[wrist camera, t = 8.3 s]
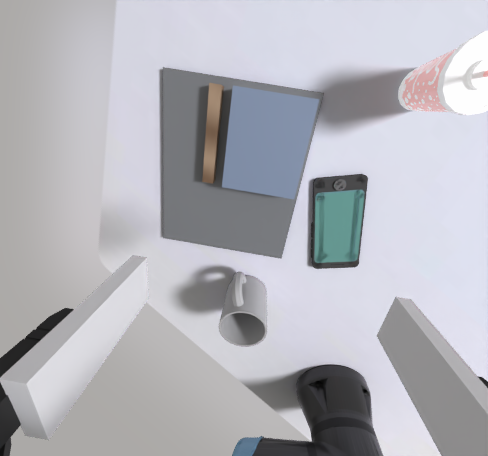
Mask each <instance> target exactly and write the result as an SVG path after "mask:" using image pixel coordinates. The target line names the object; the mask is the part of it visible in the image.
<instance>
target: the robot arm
mask: <svg viewBox="0 0 488 456" xmlns="http://www.w3.org/2000/svg"><path fill="white" fill-rule="evenodd" d="M148 299H149V290H148V271H147V257H140V256H134V255H133V256H132V257H131V258H129V259H128V260H127V261H126V262H125V263H124V264H123V265H122V266H121V267H120V268H119V269H117V270H116V271H115V272H114V273H113V274H112V275H111V276H110V277H109V278H108V279H107V280H106V281H105V282H103V283H102V284H101V285H100V286H99V287H98V288H97V289H96V290H95V291H94V292H93V293H92V294H90V295H89V296H88V297H87V298H86V299H85V300H84V301H83V302H82V303H81V304H79V305H78V306H77V307H76V308H75V309H69V308H64V309H62V310H61V311H59V312H57V313H55V314H53V315H52V316H50V317H48V318H47V319H46V320H45V321H44V322H43V323H41V324H40V325H39V326H38V327H37V329H36V330H33V331H32V332H31V333H30V334H28V335H27V336H26V338H25V339H23V340H22V341H20V342H19V343H18V344H17V345H15V347H13V348H12V349H11V350H10V351H8V352H7V353H6V354H5V355H4V356H3V357H1V358H0V456H9V455H10V449H11V438H10V437H11V436H12V435H13V433H14V432H15V431H16V430H17V429H18V427H19V426H20V425H21V428H22V429H23V432H24V434H25V435H26V436H30V437H35V438H41V439H46V440H49V439H50V437H51V436H52V434H53V433H54V432H55V430H56V429H57V427H58V426H59V425H60V423H61V422H62V420H63V419H64V418H65V416H66V415H67V413H68V412H69V411H70V409H71V408H72V406H73V405H74V403H75V402H76V401H77V399H78V398H79V396H80V395H81V394H82V392H83V391H84V389H85V388H86V386H87V385H88V384H89V382H90V381H91V379H92V378H93V377H94V375H95V374H96V372H97V371H98V370H99V368H100V367H101V365H102V364H103V362H104V361H105V360H106V358H107V357H108V355H109V354H110V353H111V351H112V350H113V348H114V347H115V346H116V344H117V343H118V341H119V340H120V338H121V337H122V336H123V334H124V333H125V331H126V330H127V329H128V327H129V326H130V324H131V323H132V321H133V320H134V319H135V317H136V316H137V314H138V313H139V312H140V310H141V309H142V307H143V306H144V305H145V303H146V302H147V300H148ZM377 337H378V339H379V341H380V343H381V345H382V346H383V348H384V350H385V352H386V354H387V356H388V358H389V359H390V361H391V363H392V365H393V367H394V369H395V370H396V372H397V374H398V376H399V378H400V380H401V382H402V383H403V385H404V387H405V389H406V391H407V393H408V395H409V396H410V398H411V400H412V402H413V404H414V406H415V407H416V409H417V411H418V413H419V415H420V417H421V419H422V420H423V422H424V424H425V426H426V428H427V430H428V431H429V433H430V435H431V437H432V439H433V441H434V443H435V444H436V446H437V448H438V450H439V452H440V454H441V455H442V456H488V382H487V381H486V380H485V379H484V378H482V377H478V376H477V375H476V374H475V373H474V372H473V371H472V370H471V368H470V367H469V366H468V365H467V364H466V363H465V361H464V360H463V359H462V358H461V357H460V356H459V354H458V353H457V352H456V351H455V350H454V349H453V348H452V346H451V345H450V344H449V343H448V342H447V341H446V339H445V338H444V337H443V336H442V335H441V334H440V332H439V331H438V330H437V329H436V328H435V327H434V326H433V324H432V323H431V322H430V321H429V320H428V319H427V317H426V316H425V315H424V314H423V313H422V312H421V310H420V309H419V308H418V307H417V306H416V305H415V304H414V302H413V301H412V300H411V299H406V298H399V297H395V299H394V302H393V304H392V306H391V308H390V310H389V312H388V314H387V316H386V318H385V320H384V322H383V324H382V326H381V328H380V330H379V332H378V334H377ZM296 388H297V396H298V401H299V403H300V406H301V408H302V411H303V413H304V416H305V418H306V420H307V423H308V425H309V428H310V431H311V437H312V442H308V441H296V440H282V439H272V438H264V437H262V436H261V437H259V438H242V439H241V440H240V441H239V442H238V443H237V445H236V447H235V449H234V452H233V454H232V456H383V454H382V451H381V448H380V445H379V443H378V440H377V437H376V434H375V431H374V428H373V424H372V409H371V396H370V391H369V389H368V386H367V383H366V381H365V379H364V378H363V376H362V375H361V374H359V373H358V372H357V371H355V370H353V369H350V368H347V367H343V366H336V365H327V366H320V367H316V368H313V369H311V370H309V371H307V372H305V373H304V374H303V375H302V376H301V377H300V378H299V380H298V381H297V386H296Z"/></svg>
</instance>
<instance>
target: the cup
mask: <svg viewBox="0 0 488 456" xmlns="http://www.w3.org/2000/svg"><path fill="white" fill-rule="evenodd" d="M219 331H220V334H221V335H222V337H223V338H224V339H225V340H226V341H228V342H229V343H231V344H234V345H237V346H242V347H249V346H254V345H256V344H259V343H260V342H261V341H263V340H264V338H265V337H266V334H267V291H266V287H265V285H264V284H263V282H262V281H260V280H259V279H258V278H256V277H253V276H249V275H244V273H243V272H237V273H235V274H234V277H233V280H232V281H231V282H230V284H229V286H228V289H227V293H226V298H225V302H224V306H223V310H222V314H221V319H220V323H219Z"/></svg>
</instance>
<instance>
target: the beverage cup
mask: <svg viewBox="0 0 488 456" xmlns="http://www.w3.org/2000/svg"><path fill="white" fill-rule="evenodd" d="M398 99H399V102H400V104H401V105H402V106H403V107H404V108H405V109H407V110H411V111H438V112H451V113H455V114H459V115H471V114H477V113H483V112H485V111H487V110H488V31H485V32H482V33H480V34H479V35H476V36H475V37H473V38H471V39H470V40H468V41H466V42H465V43H463V44H462V45H460V46H459V47H458V48H457V49H455V50H453V51H451V52H448V53H446V54H444V55H442V56H440V57H438V58H436V59H434V60H432V61H430V62H428V63H426V64H424V65H422V66H420V67H418V68H416V69H415V70H413V71H411V72H410V73H409V74H408V75H407V76H406V77H405V78H404V79H403V81H402V83H401V85H400V87H399V93H398Z"/></svg>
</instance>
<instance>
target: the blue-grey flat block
mask: <svg viewBox="0 0 488 456" xmlns="http://www.w3.org/2000/svg"><path fill="white" fill-rule="evenodd" d="M319 100H320V99H314V98H308V97H302V96H295V95H289V94H283V93H277V92H271V91H264V90H258V89H252V88H246V87H240V86H233V89H232V98H231V107H230V117H229V126H228V135H227V144H226V153H225V163H224V172H223V181H222V187H224V188H230V189H235V190H241V191H247V192H253V193H259V194H265V195H271V196H277V197H283V198H288V199H294V198H295V194H296V191H297V187H298V183H299V179H300V175H301V171H302V167H303V163H304V159H305V155H306V151H307V147H308V143H309V139H310V135H311V131H312V127H313V123H314V119H315V115H316V111H317V107H318V103H319Z"/></svg>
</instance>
